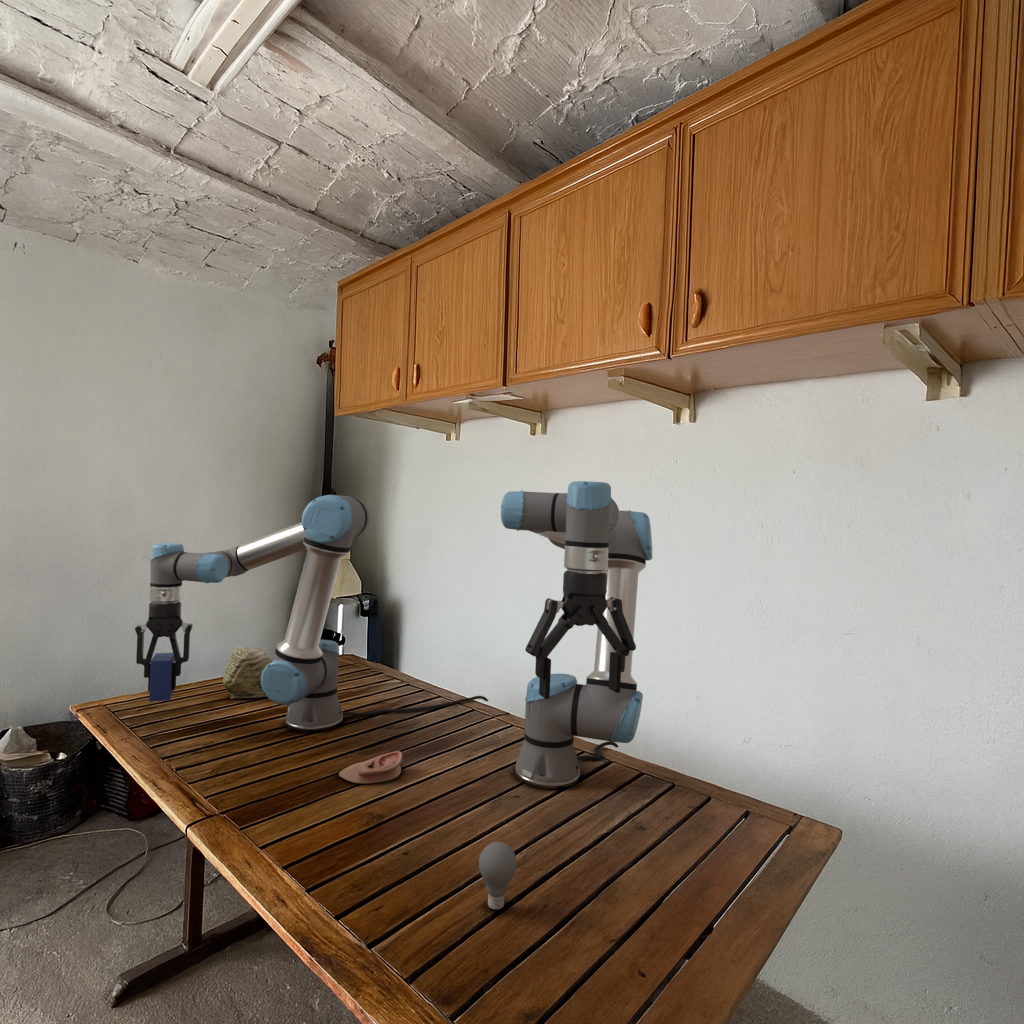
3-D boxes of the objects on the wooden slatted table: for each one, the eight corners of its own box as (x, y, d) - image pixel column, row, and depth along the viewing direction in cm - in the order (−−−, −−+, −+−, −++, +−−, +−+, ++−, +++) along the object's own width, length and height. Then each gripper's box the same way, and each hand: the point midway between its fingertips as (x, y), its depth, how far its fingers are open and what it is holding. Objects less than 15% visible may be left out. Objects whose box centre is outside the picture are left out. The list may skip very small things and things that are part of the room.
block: (154, 692, 171) (155, 653, 171) (173, 690, 173) (175, 652, 173) (149, 701, 164) (150, 661, 163) (169, 700, 165) (171, 660, 165)
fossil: (218, 695, 195) (220, 647, 195) (278, 685, 208) (279, 640, 207) (228, 703, 189) (230, 653, 188) (289, 692, 201) (290, 645, 201)
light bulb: (476, 895, 103) (478, 834, 102) (513, 894, 103) (515, 834, 103) (477, 919, 97) (480, 854, 96) (516, 919, 97) (519, 854, 97)
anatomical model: (332, 762, 141) (355, 743, 152) (332, 780, 141) (355, 759, 153) (388, 770, 139) (407, 750, 150) (388, 788, 139) (407, 766, 150)
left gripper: (124, 604, 161) (120, 695, 162) (201, 603, 168) (198, 690, 168) (129, 599, 168) (126, 686, 169) (203, 598, 175) (200, 682, 175)
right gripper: (527, 573, 101) (521, 705, 101) (659, 573, 110) (653, 694, 111) (510, 568, 108) (504, 691, 108) (635, 568, 117) (630, 682, 118)
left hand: (162, 688), depth 168 cm, fingers closed on block, 5 cm apart
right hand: (579, 693), depth 110 cm, fingers open, 13 cm apart
